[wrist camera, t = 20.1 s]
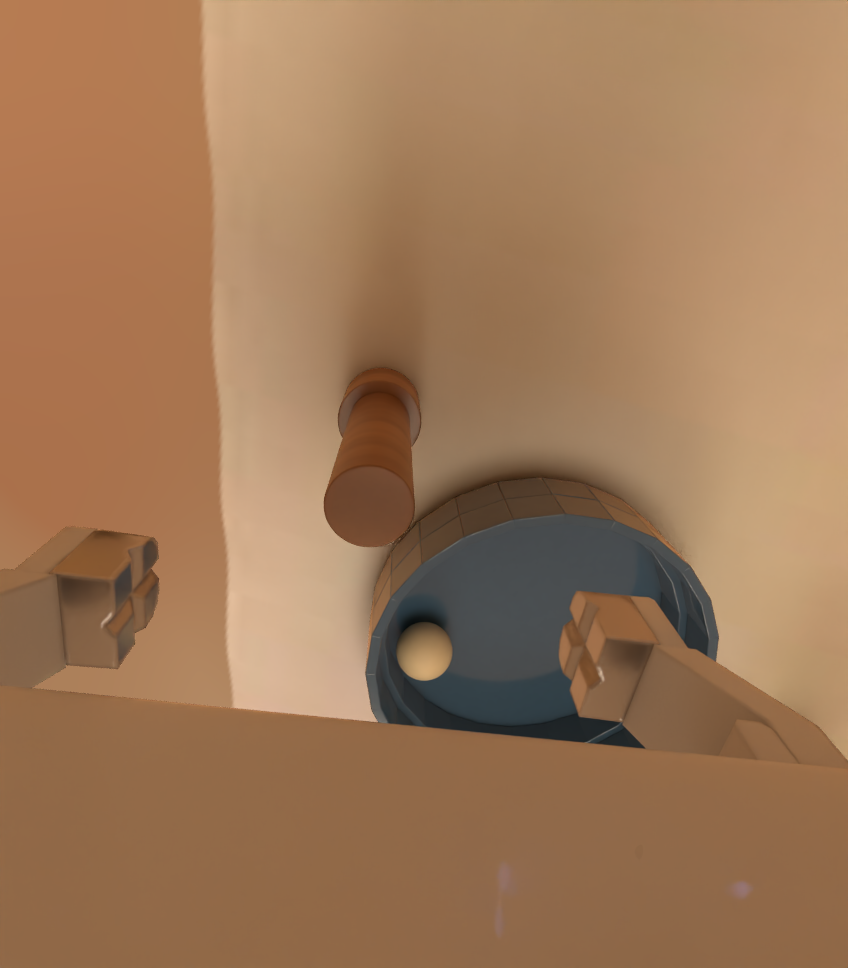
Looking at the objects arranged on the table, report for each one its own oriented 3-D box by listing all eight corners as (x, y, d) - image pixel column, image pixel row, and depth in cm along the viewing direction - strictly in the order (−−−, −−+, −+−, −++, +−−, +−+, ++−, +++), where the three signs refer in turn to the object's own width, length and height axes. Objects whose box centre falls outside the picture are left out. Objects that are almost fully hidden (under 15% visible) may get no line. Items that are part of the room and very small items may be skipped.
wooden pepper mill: (348, 361, 26) (311, 438, 15) (424, 373, 27) (442, 457, 16) (340, 434, 28) (300, 554, 17) (412, 445, 28) (421, 569, 17)
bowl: (395, 451, 28) (394, 490, 24) (715, 498, 30) (772, 542, 25) (354, 714, 34) (347, 786, 30) (621, 741, 36) (654, 812, 31)
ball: (402, 607, 31) (418, 625, 28) (449, 623, 32) (469, 642, 29) (381, 658, 31) (395, 681, 28) (429, 673, 32) (447, 696, 29)
